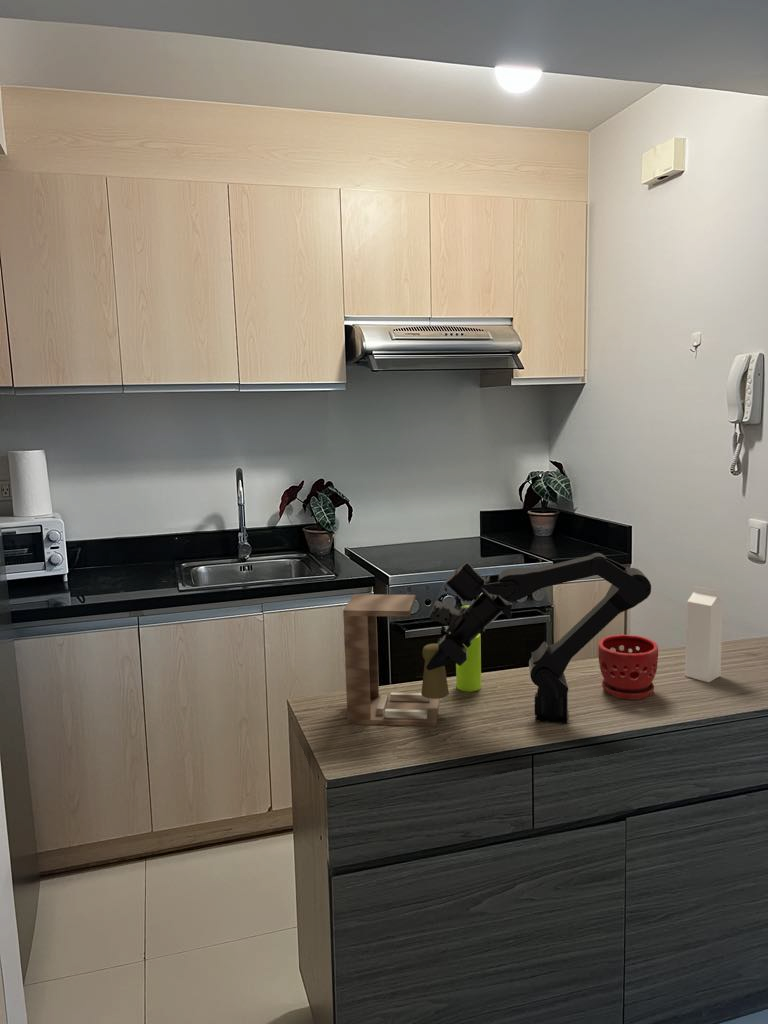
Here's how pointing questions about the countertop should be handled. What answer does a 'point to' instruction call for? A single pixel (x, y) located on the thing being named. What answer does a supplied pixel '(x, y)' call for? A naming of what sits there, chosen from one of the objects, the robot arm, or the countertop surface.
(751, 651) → the countertop surface
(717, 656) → the milk
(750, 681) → the countertop surface
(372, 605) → the wooden stand
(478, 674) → the soap dispenser
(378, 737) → the countertop surface
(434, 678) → the cork
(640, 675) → the plant pot
